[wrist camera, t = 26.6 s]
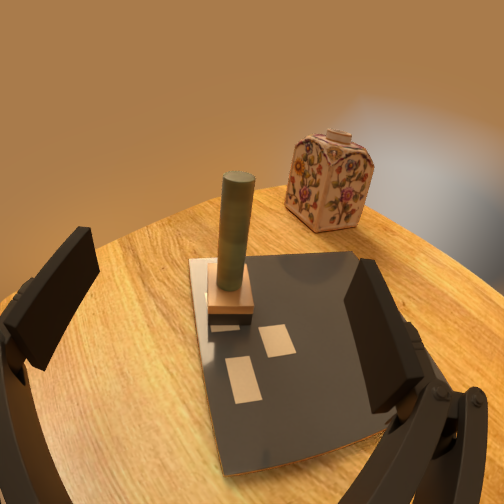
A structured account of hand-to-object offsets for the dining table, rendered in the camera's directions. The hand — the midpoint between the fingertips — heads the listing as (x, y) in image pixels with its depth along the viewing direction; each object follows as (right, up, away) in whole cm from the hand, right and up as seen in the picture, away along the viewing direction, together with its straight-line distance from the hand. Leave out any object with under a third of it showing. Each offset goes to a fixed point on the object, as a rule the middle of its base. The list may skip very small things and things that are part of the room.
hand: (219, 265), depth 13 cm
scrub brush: (-1, -5, +19) cm, 20 cm away
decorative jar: (+16, +8, +44) cm, 47 cm away
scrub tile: (+9, -9, +18) cm, 22 cm away
